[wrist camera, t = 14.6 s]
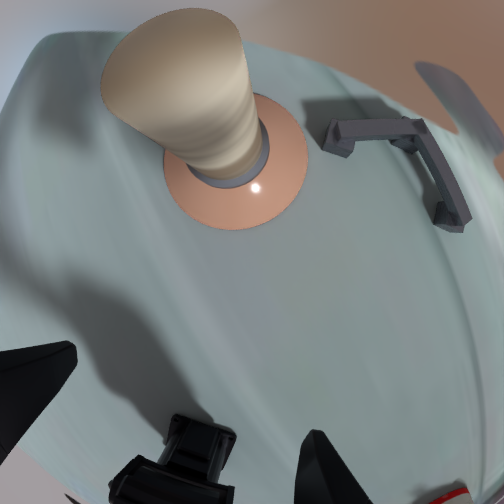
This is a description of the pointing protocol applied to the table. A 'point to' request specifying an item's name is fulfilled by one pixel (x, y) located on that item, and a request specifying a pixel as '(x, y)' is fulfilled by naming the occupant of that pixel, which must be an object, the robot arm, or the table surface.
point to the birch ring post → (190, 94)
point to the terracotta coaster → (255, 192)
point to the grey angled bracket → (411, 140)
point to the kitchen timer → (455, 497)
